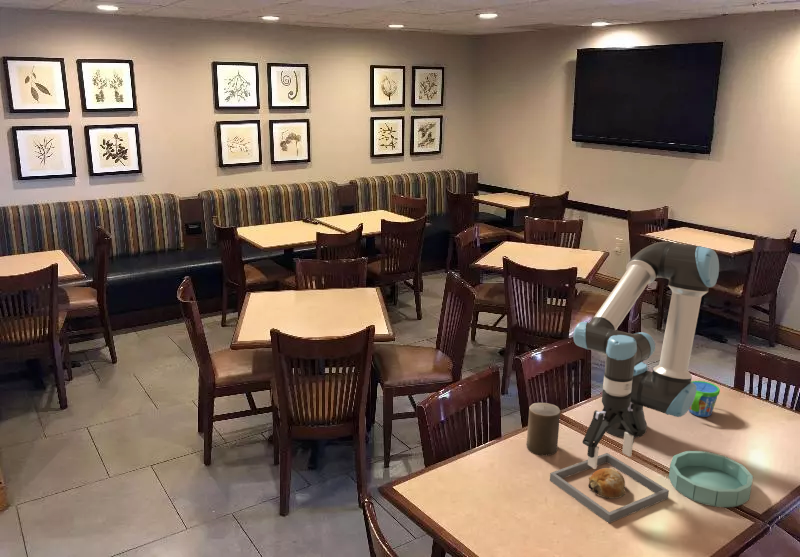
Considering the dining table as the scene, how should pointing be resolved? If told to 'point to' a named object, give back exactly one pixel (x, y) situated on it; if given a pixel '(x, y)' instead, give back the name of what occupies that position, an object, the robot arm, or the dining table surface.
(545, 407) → the pillar candle
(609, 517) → the rectangular frame
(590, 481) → the bread roll
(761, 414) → the dining table surface
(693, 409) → the snack cup
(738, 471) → the bowl
